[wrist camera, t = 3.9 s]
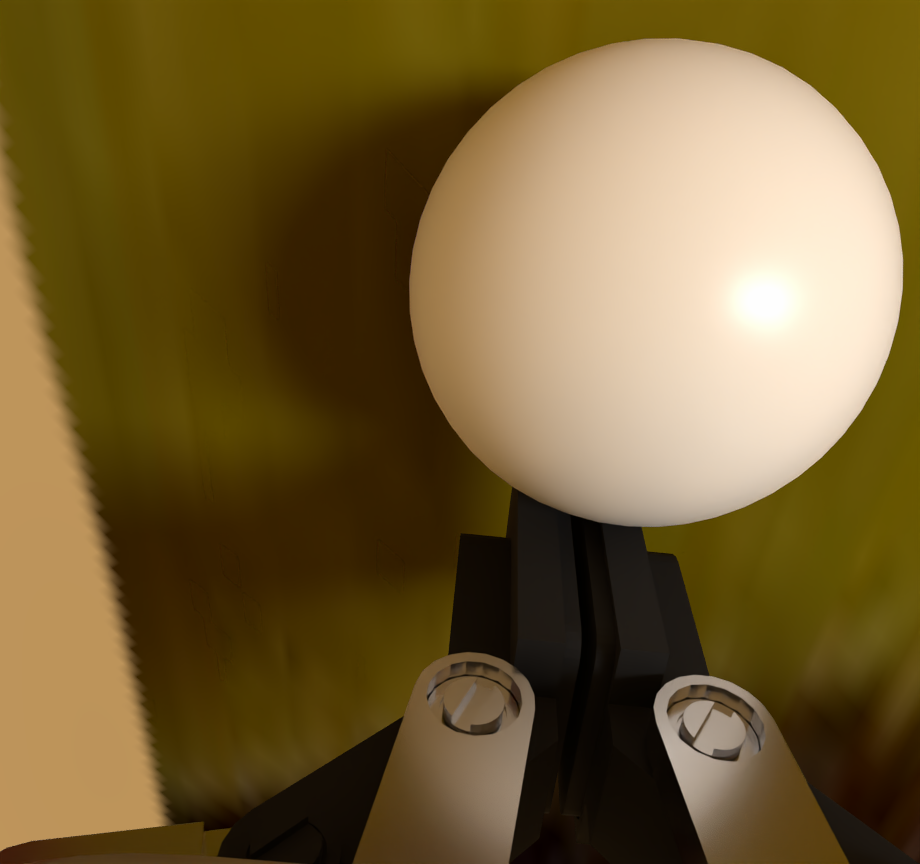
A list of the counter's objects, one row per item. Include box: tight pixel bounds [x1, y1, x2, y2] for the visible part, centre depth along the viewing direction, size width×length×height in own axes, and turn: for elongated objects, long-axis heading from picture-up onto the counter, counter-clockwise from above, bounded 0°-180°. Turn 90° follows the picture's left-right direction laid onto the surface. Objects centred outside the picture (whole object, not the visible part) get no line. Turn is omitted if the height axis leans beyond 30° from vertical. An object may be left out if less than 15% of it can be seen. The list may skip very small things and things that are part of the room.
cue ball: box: [409, 39, 903, 527], centre depth 10 cm, size 6×6×6 cm
